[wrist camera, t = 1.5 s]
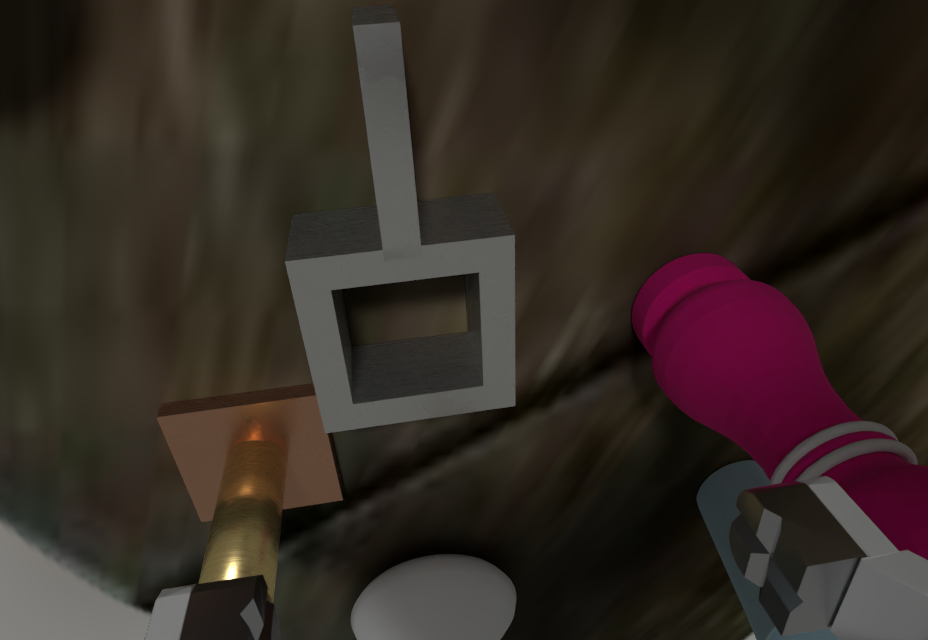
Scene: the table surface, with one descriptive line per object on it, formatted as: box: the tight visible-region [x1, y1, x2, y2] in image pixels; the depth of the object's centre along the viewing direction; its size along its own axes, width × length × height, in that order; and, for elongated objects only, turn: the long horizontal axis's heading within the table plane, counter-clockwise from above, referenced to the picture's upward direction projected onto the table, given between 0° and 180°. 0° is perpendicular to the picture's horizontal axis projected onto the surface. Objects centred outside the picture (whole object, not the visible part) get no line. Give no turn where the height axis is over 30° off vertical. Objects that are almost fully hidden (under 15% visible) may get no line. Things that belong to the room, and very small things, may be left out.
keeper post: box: [157, 384, 343, 603], centre depth 30 cm, size 8×8×11 cm
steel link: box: [285, 5, 515, 433], centre depth 27 cm, size 17×9×4 cm, turn 2°
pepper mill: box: [632, 253, 928, 560], centre depth 26 cm, size 7×7×20 cm
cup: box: [697, 460, 841, 640], centre depth 39 cm, size 8×8×10 cm
